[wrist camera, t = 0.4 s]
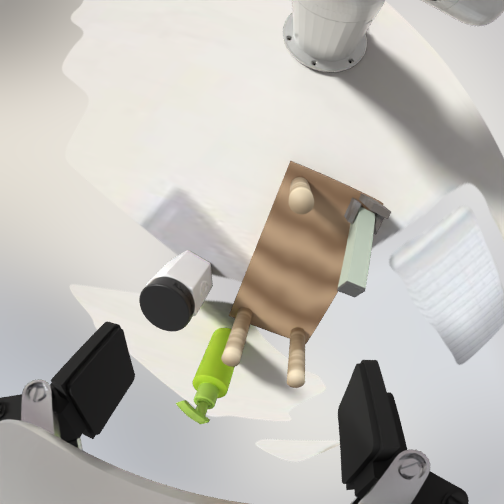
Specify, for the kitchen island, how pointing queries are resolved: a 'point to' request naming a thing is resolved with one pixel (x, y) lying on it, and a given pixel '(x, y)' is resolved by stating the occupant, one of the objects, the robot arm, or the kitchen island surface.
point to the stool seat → (297, 263)
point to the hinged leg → (357, 254)
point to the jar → (177, 292)
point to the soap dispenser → (210, 378)
